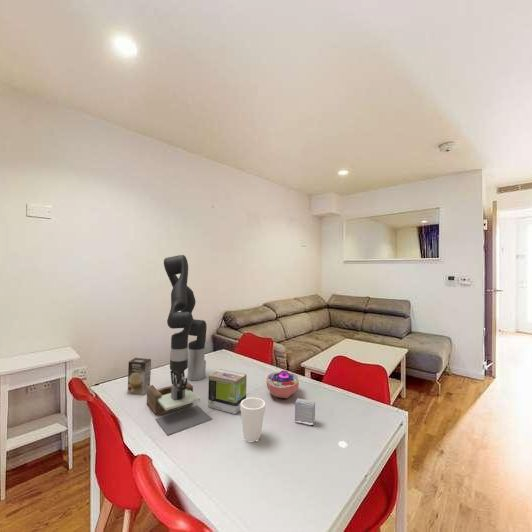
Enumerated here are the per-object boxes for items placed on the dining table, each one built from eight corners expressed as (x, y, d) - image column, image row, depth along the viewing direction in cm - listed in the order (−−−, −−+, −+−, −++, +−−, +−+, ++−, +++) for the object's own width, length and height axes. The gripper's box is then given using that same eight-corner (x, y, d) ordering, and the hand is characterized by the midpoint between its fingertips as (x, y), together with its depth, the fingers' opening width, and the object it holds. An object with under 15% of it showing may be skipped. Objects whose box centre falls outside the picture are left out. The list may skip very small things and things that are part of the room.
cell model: (259, 400, 137) (259, 376, 137) (273, 384, 156) (274, 364, 156) (292, 407, 131) (293, 383, 131) (303, 390, 149) (304, 369, 149)
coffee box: (126, 393, 140) (127, 361, 140) (133, 388, 146) (134, 357, 146) (144, 395, 139) (145, 362, 139) (150, 389, 145) (151, 358, 145)
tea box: (246, 405, 132) (247, 373, 132) (235, 415, 123) (236, 381, 123) (219, 398, 138) (220, 368, 138) (207, 407, 129) (208, 375, 129)
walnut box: (182, 394, 140) (182, 377, 140) (192, 404, 131) (193, 386, 131) (146, 404, 130) (147, 386, 130) (155, 415, 120) (155, 396, 120)
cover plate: (188, 390, 132) (188, 377, 132) (199, 400, 123) (200, 386, 123) (156, 399, 123) (156, 385, 123) (165, 410, 113) (166, 395, 113)
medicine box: (315, 421, 119) (315, 401, 119) (313, 427, 115) (313, 405, 115) (296, 417, 122) (297, 397, 122) (294, 423, 118) (294, 402, 118)
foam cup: (255, 448, 101) (256, 412, 101) (234, 439, 106) (235, 404, 106) (268, 435, 109) (269, 401, 109) (249, 427, 114) (250, 395, 114)
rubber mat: (197, 406, 130) (197, 405, 130) (212, 419, 119) (212, 418, 119) (155, 419, 117) (155, 418, 117) (167, 435, 107) (167, 434, 107)
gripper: (194, 360, 120) (193, 401, 120) (181, 352, 131) (180, 389, 130) (176, 363, 115) (175, 406, 115) (164, 355, 126) (163, 393, 126)
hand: (178, 397), depth 123 cm, fingers closed on cover plate, 3 cm apart
